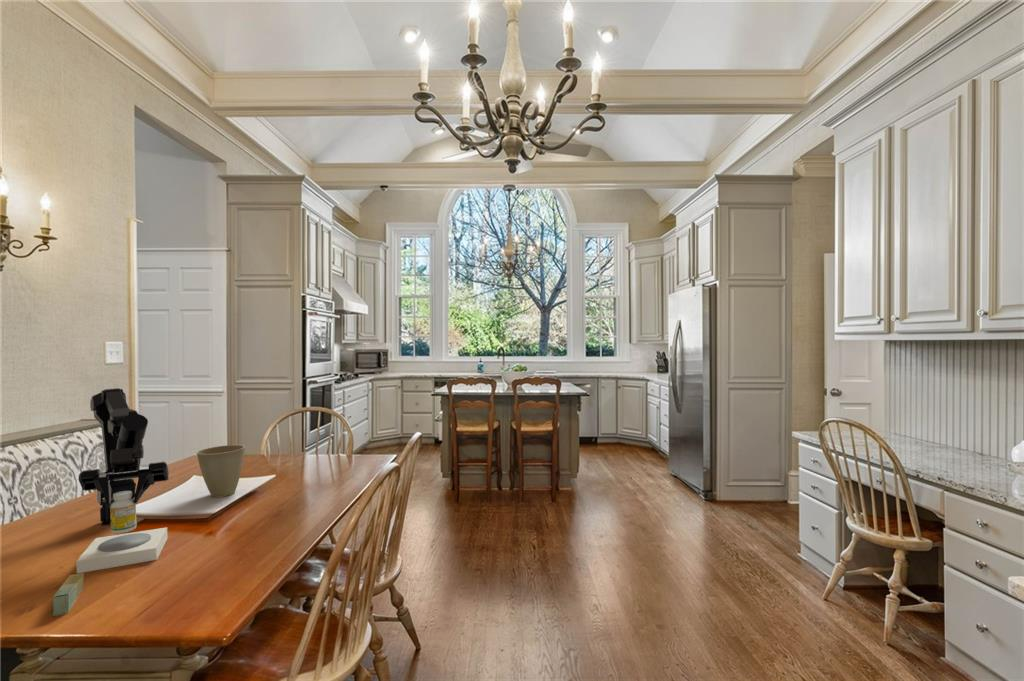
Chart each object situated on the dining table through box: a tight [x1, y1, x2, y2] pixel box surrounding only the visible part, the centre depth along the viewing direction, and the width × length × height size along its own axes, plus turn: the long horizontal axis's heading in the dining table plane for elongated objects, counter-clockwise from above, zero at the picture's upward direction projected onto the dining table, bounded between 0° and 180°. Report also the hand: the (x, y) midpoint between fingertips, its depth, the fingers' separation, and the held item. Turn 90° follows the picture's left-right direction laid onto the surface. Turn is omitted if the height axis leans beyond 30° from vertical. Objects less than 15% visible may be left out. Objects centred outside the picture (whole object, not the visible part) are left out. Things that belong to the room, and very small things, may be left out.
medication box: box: [51, 572, 85, 617], centre depth 112 cm, size 12×3×4 cm, turn 27°
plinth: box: [75, 526, 169, 574], centre depth 137 cm, size 16×16×3 cm
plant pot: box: [196, 444, 246, 498], centre depth 188 cm, size 15×15×16 cm
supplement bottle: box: [110, 491, 137, 534], centre depth 137 cm, size 5×5×10 cm
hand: (121, 504), depth 135 cm, fingers closed on supplement bottle, 5 cm apart
